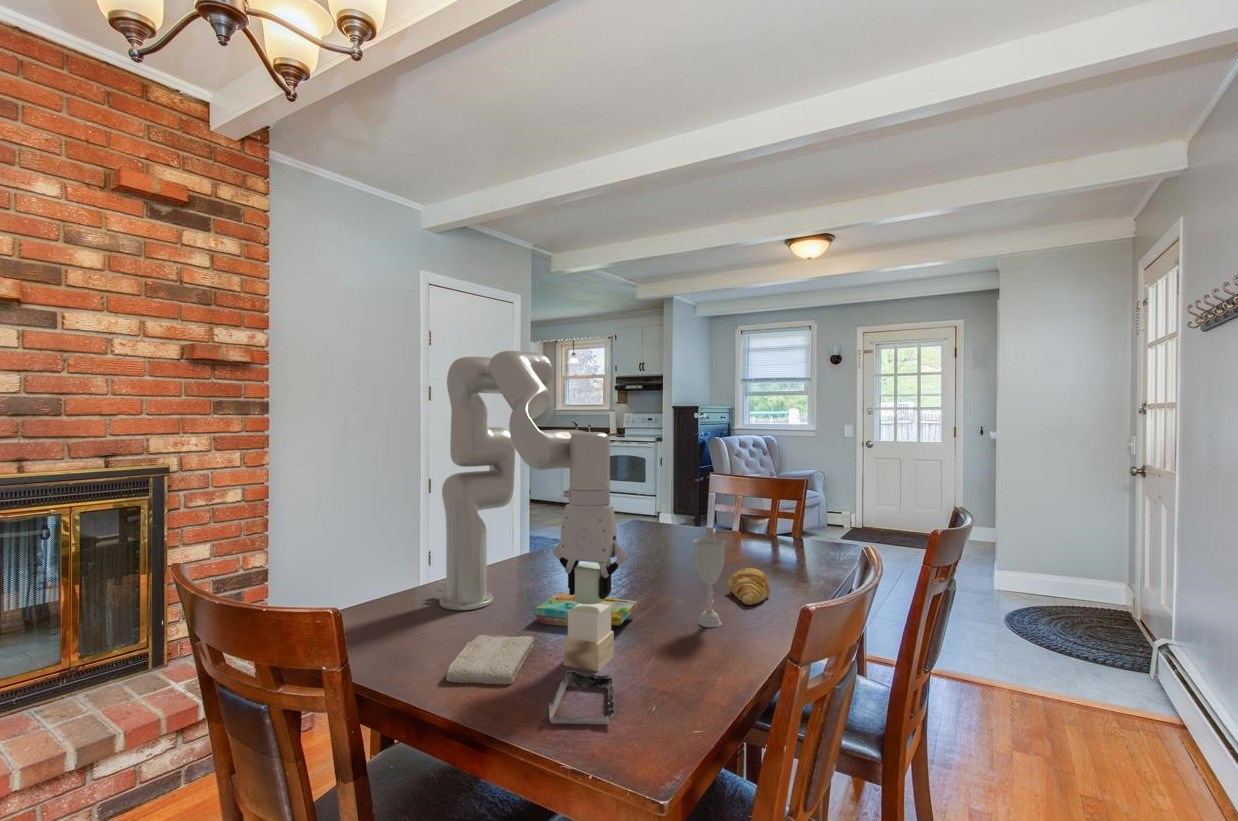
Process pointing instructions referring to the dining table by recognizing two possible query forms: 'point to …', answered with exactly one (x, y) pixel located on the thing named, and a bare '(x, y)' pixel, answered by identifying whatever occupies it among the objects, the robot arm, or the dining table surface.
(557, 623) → the puzzle game
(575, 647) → the oak base block
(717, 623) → the chalice
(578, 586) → the sage round block
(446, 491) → the robot arm
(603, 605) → the cream middle block
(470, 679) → the washcloth
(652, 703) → the dining table surface
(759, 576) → the croissant
